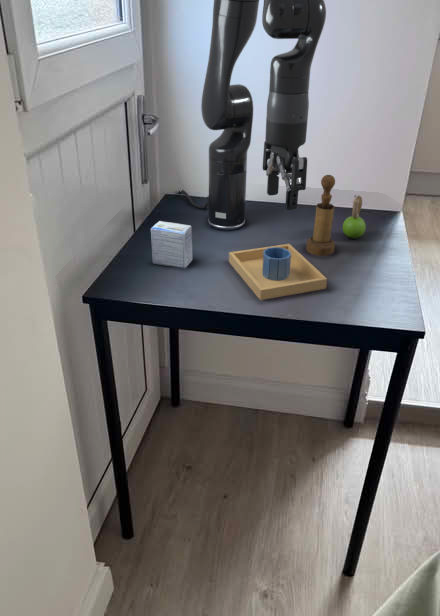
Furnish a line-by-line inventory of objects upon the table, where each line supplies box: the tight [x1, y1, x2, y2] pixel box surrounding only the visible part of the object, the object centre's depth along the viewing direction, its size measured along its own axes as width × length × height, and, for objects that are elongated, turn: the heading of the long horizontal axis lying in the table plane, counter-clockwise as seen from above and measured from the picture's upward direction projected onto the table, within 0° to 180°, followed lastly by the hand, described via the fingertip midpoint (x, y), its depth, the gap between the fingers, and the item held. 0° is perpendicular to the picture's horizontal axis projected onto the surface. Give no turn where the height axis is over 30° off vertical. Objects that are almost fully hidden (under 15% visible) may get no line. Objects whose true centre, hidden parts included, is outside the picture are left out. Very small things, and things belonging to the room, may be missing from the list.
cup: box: [262, 247, 291, 281], centre depth 118 cm, size 6×6×5 cm
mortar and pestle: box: [305, 174, 336, 257], centre depth 126 cm, size 7×6×18 cm
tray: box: [228, 243, 328, 301], centre depth 119 cm, size 18×15×3 cm
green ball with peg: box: [342, 194, 367, 239], centre depth 134 cm, size 5×6×12 cm
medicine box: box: [150, 220, 193, 269], centre depth 122 cm, size 8×4×9 cm, turn 71°
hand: (281, 201), depth 111 cm, fingers open, 8 cm apart
